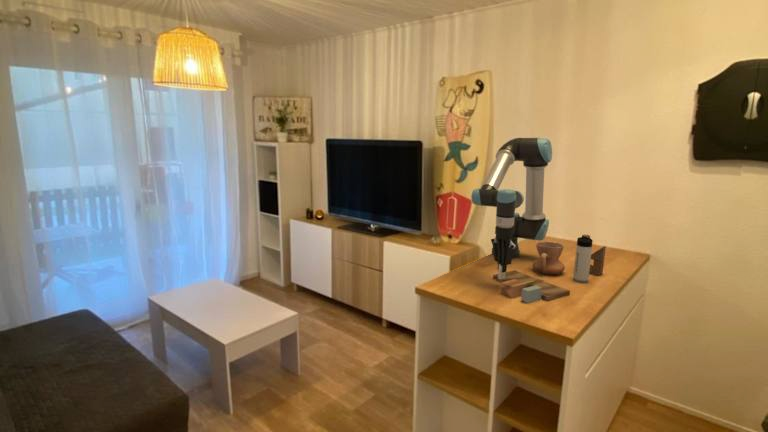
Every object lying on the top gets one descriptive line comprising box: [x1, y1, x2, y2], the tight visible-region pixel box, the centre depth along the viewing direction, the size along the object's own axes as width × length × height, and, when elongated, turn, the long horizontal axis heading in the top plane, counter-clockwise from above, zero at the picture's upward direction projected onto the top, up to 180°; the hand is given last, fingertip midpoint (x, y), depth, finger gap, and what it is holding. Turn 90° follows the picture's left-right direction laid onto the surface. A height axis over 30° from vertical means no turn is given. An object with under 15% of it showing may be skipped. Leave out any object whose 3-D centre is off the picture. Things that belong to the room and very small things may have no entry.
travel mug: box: [572, 235, 594, 284], centre depth 184 cm, size 6×7×20 cm
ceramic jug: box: [532, 240, 566, 276], centre depth 196 cm, size 18×14×14 cm
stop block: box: [520, 285, 542, 304], centre depth 163 cm, size 3×8×5 cm, turn 120°
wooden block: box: [581, 234, 607, 277], centre depth 196 cm, size 4×11×18 cm, turn 43°
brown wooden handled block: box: [500, 279, 535, 299], centre depth 171 cm, size 6×16×5 cm, turn 119°
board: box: [492, 270, 571, 302], centre depth 178 cm, size 30×14×2 cm, turn 30°
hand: (501, 278), depth 178 cm, fingers closed
